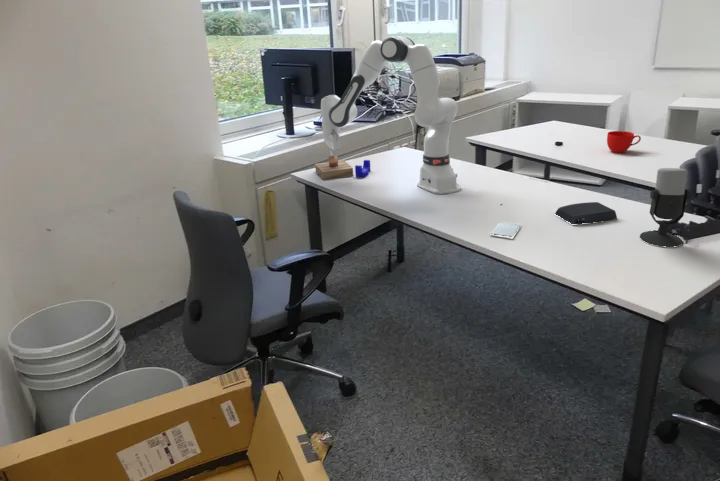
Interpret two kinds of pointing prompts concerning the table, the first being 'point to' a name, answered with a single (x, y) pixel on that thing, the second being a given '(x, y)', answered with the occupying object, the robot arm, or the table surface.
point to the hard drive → (506, 229)
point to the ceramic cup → (620, 141)
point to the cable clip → (362, 169)
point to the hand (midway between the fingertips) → (333, 155)
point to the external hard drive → (586, 213)
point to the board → (334, 170)
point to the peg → (333, 161)
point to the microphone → (667, 205)
